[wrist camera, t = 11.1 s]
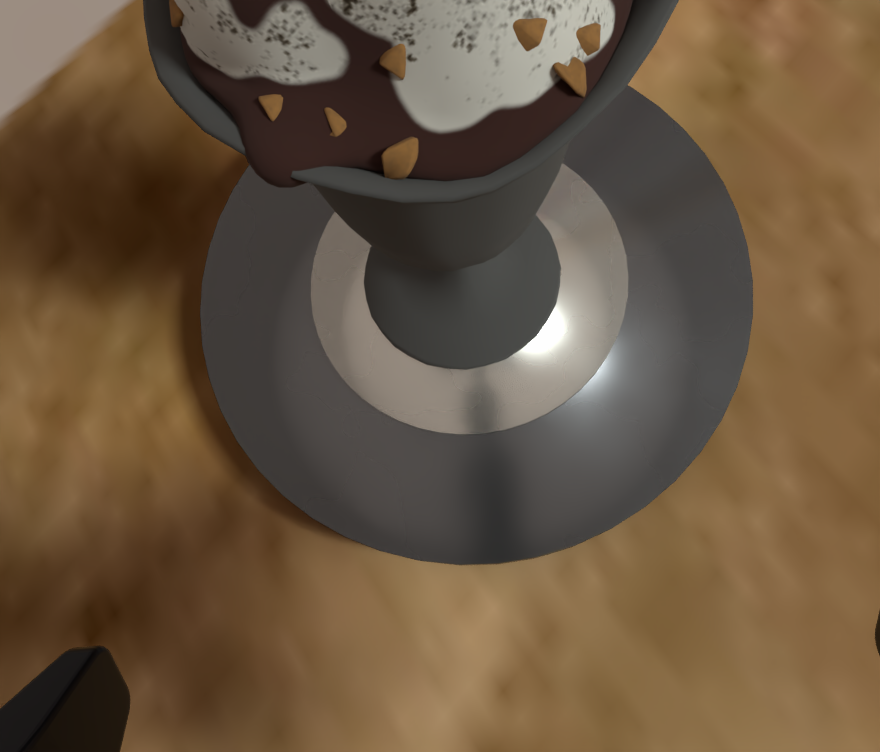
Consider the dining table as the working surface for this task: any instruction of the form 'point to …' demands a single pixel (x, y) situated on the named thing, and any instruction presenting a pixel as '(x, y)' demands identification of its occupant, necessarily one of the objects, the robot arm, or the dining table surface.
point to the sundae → (415, 136)
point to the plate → (496, 385)
